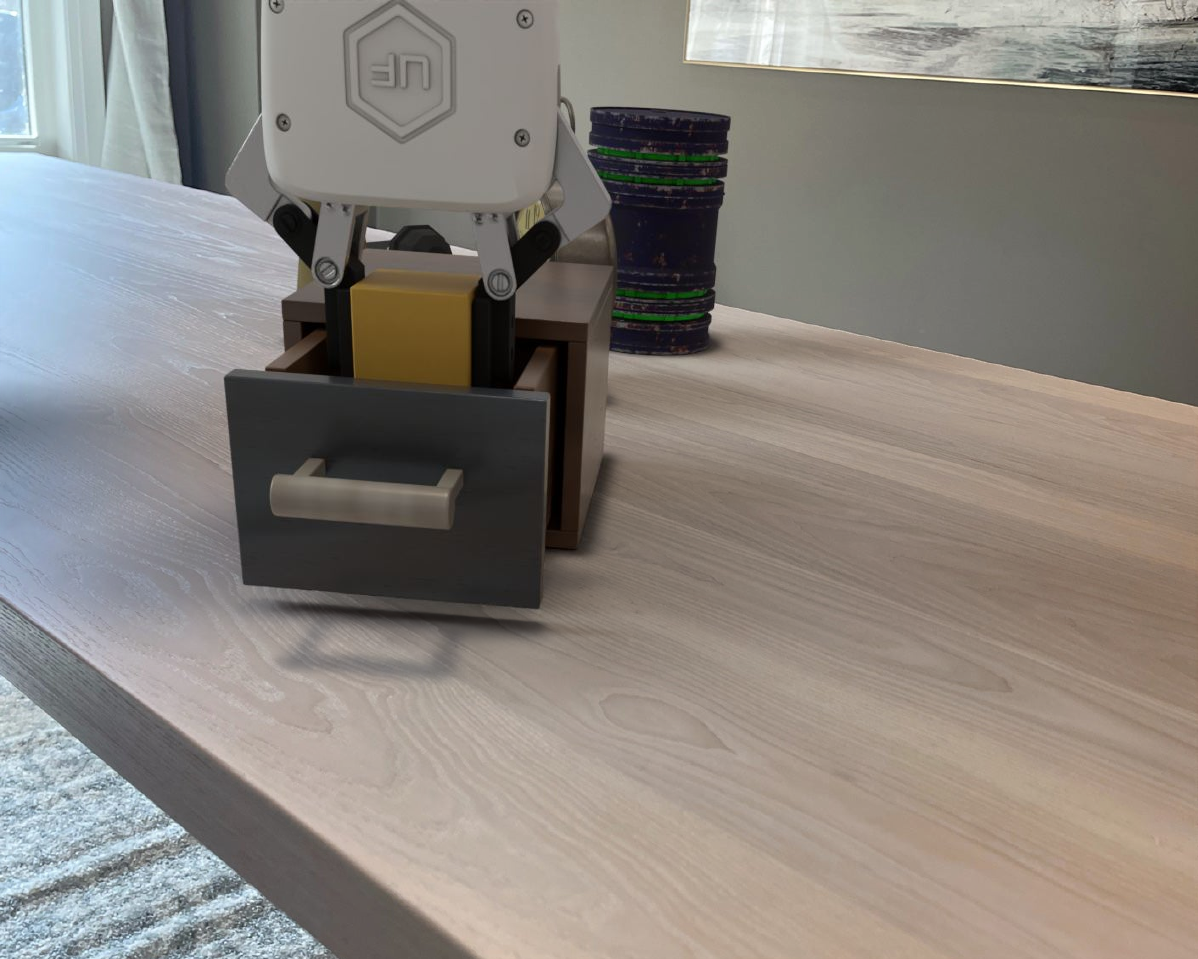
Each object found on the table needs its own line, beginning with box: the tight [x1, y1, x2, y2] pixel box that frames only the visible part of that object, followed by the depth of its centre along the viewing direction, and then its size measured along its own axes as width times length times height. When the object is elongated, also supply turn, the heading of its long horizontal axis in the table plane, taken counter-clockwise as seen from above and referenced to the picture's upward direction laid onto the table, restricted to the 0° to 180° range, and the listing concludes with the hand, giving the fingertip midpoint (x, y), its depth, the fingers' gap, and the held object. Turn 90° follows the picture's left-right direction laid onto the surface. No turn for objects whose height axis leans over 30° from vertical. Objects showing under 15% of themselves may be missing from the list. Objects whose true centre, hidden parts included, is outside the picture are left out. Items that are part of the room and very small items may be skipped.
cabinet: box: [280, 248, 614, 550], centre depth 61 cm, size 15×13×10 cm
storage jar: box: [586, 105, 732, 356], centre depth 92 cm, size 10×10×15 cm
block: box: [350, 269, 482, 387], centre depth 50 cm, size 4×4×4 cm
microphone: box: [366, 224, 454, 255], centre depth 108 cm, size 6×6×20 cm
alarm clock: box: [515, 95, 617, 320], centre depth 78 cm, size 11×5×16 cm, turn 21°
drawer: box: [223, 323, 566, 610], centre depth 51 cm, size 18×11×8 cm, turn 175°
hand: (422, 389), depth 51 cm, fingers closed on block, 4 cm apart
